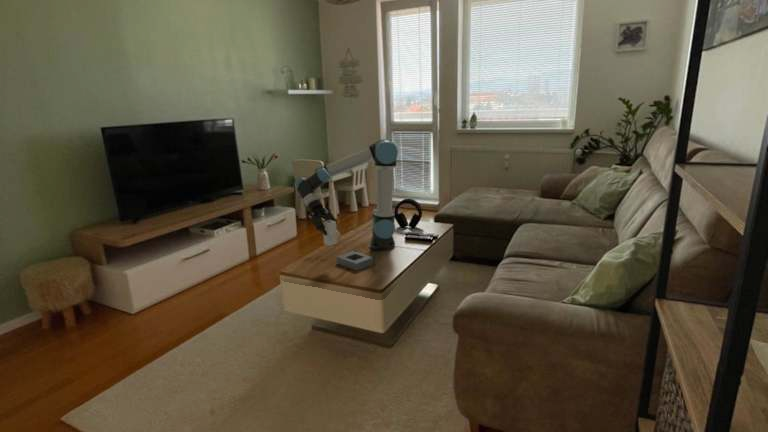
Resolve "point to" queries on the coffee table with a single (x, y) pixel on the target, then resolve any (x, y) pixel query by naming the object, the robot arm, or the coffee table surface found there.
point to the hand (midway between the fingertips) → (334, 237)
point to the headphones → (401, 217)
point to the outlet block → (355, 260)
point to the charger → (332, 230)
